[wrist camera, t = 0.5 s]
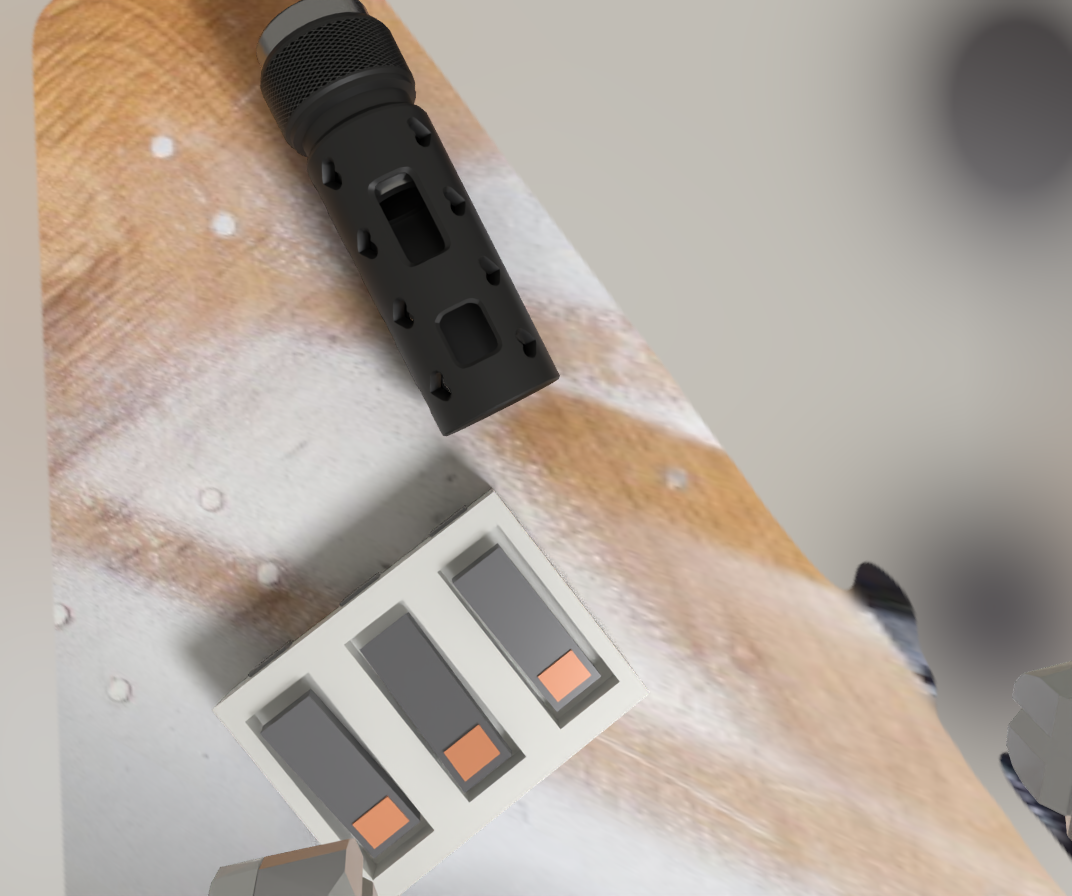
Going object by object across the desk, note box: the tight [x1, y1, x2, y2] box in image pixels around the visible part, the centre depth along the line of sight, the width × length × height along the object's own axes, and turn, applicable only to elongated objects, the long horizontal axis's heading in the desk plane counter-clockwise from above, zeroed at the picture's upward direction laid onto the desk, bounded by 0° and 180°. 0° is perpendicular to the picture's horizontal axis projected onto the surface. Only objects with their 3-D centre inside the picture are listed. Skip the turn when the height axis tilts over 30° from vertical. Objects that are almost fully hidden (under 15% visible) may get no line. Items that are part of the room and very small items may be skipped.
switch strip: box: [212, 488, 650, 896], centre depth 57 cm, size 18×24×4 cm
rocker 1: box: [260, 689, 421, 858], centre depth 54 cm, size 12×4×1 cm, turn 37°
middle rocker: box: [360, 612, 512, 793], centre depth 55 cm, size 12×4×1 cm, turn 38°
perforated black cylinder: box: [256, 0, 560, 436], centre depth 54 cm, size 10×28×10 cm, turn 27°
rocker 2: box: [452, 543, 601, 712], centre depth 55 cm, size 12×4×1 cm, turn 37°
